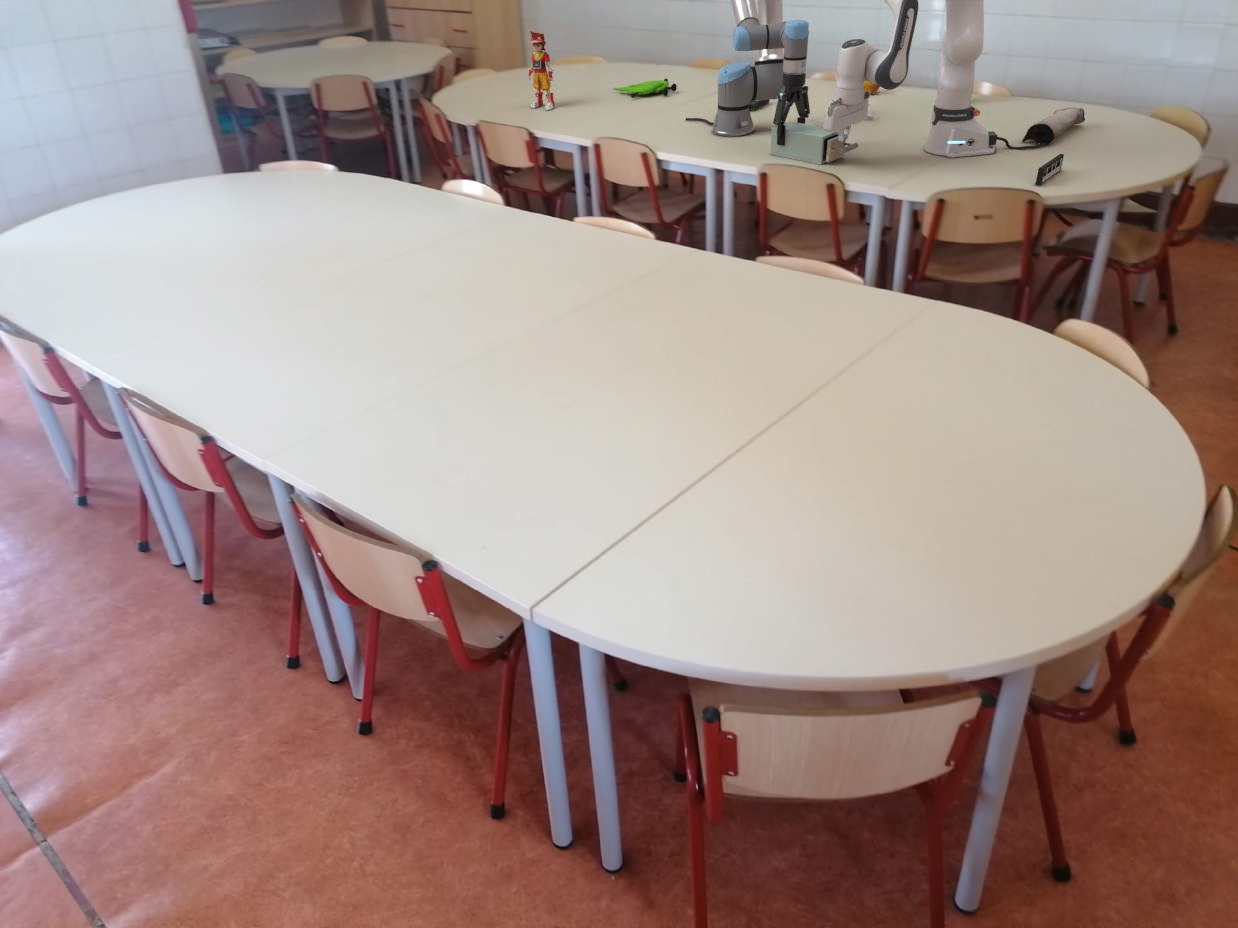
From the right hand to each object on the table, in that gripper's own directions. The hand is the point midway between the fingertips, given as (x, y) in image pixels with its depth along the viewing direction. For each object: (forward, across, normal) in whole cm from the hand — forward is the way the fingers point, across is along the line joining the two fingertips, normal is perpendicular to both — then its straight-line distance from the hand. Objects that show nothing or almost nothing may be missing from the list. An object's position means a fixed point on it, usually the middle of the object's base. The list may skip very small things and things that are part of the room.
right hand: (842, 140), depth 294 cm
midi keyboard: (+6, +23, -60) cm, 64 cm away
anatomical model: (+7, +53, +29) cm, 61 cm away
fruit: (+7, +88, +44) cm, 99 cm away
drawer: (+7, 0, +9) cm, 11 cm away
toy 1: (+10, -5, +146) cm, 146 cm away
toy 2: (+9, +38, +129) cm, 135 cm away
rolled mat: (+6, +69, -41) cm, 81 cm away
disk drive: (+8, +44, +72) cm, 85 cm away
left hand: (+4, 0, +21) cm, 21 cm away
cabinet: (+8, 0, +15) cm, 16 cm away
